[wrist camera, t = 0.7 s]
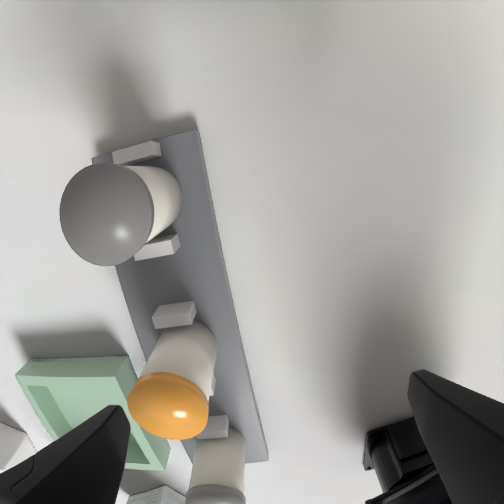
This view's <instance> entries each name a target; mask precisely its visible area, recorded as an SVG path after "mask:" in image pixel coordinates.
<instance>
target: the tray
mask: <svg viewBox="0 0 504 504" xmlns="http://www.w3.org/2000/svg"><path fill="white" fill-rule="evenodd" d="M15 377H16V379H17V381H18V383H19V384H20V386H21V388H22V390H23V392H24V394H25V395H26V397H27V399H28V401H29V402H30V404H31V406H32V407H33V409H34V411H35V412H36V414H37V416H38V417H39V419H40V420H41V422H42V424H43V425H44V427H45V428H46V430H47V431H48V433H49V434H50V436H51V437H52V439H53V440H54V441H55V440H57V439H59V438H60V437H62V436H63V435H65V434H66V433H68V432H69V431H71V430H72V429H74V428H75V427H77V426H78V425H80V424H81V423H83V422H84V421H86V420H87V419H89V418H90V417H92V416H93V415H95V414H96V413H98V412H99V411H100V410H102V409H103V408H105V407H106V406H108V405H120V406H122V408H123V410H124V412H125V414H126V416H127V418H128V420H129V422H130V426H131V431H130V437H129V443H128V449H127V456H126V462H125V468H124V469H136V470H153V471H165V468H166V464H167V461H168V457H169V453H170V449H171V448H170V446H169V444H168V442H167V440H166V438H162V437H159V436H156V435H154V434H152V433H150V432H148V431H146V430H145V429H143V428H142V427H141V426H140V425H139V424H138V423H137V422H136V421H135V420H134V419H133V418H132V416H131V414H130V412H129V410H128V406H127V399H128V395H129V393H130V391H131V389H132V387H133V385H134V383H135V382H136V381H137V380H138V378H137V376H136V373H135V371H134V369H133V366H132V364H131V361H130V359H129V356H128V355H120V356H103V357H82V358H31V359H30V360H29V361H28V362H27V363H26V364H25V365H24V366H23V367H22V368H21V369H20V370H19V371H18V372H17V373H16V374H15Z"/></svg>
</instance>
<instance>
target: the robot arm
mask: <svg viewBox="0 0 504 504" xmlns="http://www.w3.org/2000/svg"><path fill="white" fill-rule="evenodd" d="M407 395H408V400H409V403H410V406H411V408H412V411H413V414H414V418H411V419H408V420H405V421H402V422H399V423H396V424H393V425H389V426H386V427H383V428H379V429H376V430H372V431H370V432H368V433H367V435H366V446H365V457H364V469H365V470H366V471H368V470H372V469H375V471H376V474H377V477H378V480H379V482H380V485H381V488H382V491H383V494H381V495H379V496H377V497H375V498H373V499H369V500H367V501H365V504H504V403H501V402H499V401H496V400H494V399H492V398H489V397H487V396H484V395H482V394H480V393H477V392H475V391H473V390H470V389H468V388H466V387H463V386H461V385H459V384H456V383H454V382H452V381H449V380H447V379H445V378H442V377H440V376H438V375H436V374H433V373H431V372H429V371H427V370H424V369H421V370H417V371H414V372H412V373H411V375H410V379H409V386H408V392H407ZM130 431H131V426H130V422H129V420H128V418H127V416H126V414H125V412H124V410H123V408H122V406H120V405H108V406H106V407H105V408H103V409H102V410H100V411H99V412H98V413H96V414H95V415H93V416H92V417H90V418H89V419H87V420H86V421H84V422H83V423H81V424H80V425H78V426H77V427H75V428H74V429H72V430H71V431H69V432H68V433H66V434H65V435H63V436H62V437H60V438H59V439H57V440H55V441H54V442H52V443H51V444H49V445H48V446H46V447H45V448H43V449H42V450H40V451H38V452H37V453H35V455H32V456H30V457H29V458H27V459H26V460H24V461H22V462H21V463H19V464H17V465H16V466H14V467H12V468H10V469H8V470H6V471H4V472H2V473H0V504H115V502H116V498H117V494H118V490H119V486H120V483H121V479H122V475H123V472H124V468H125V462H126V456H127V449H128V443H129V437H130Z"/></svg>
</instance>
